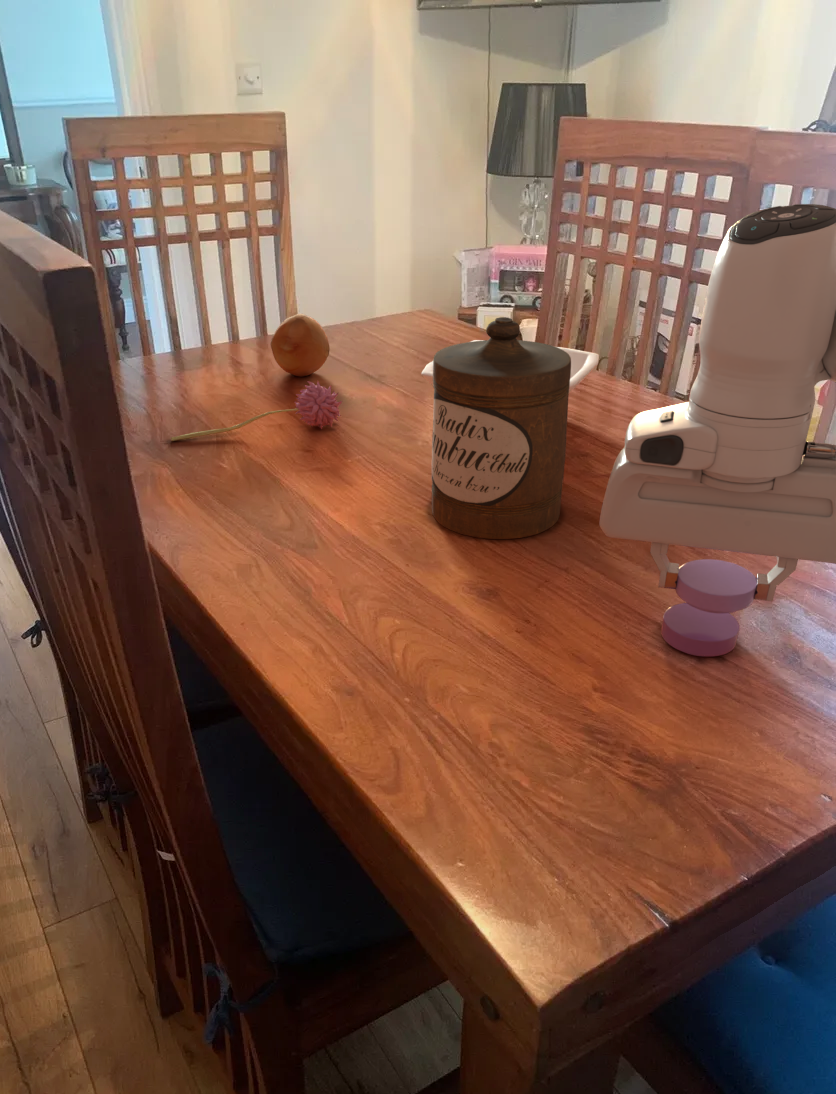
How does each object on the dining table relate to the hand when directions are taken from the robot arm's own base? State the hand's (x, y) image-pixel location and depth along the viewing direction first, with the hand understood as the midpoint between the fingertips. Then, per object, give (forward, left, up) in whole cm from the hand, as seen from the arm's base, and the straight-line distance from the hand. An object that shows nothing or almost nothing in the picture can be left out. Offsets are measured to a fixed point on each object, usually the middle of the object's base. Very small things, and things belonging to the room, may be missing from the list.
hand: (713, 591), depth 74 cm
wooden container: (+24, -21, -6) cm, 32 cm away
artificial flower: (+62, -37, -6) cm, 72 cm away
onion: (+68, -66, -6) cm, 95 cm away
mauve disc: (+1, 0, -5) cm, 5 cm away
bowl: (+29, -53, -6) cm, 61 cm away
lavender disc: (0, 0, -1) cm, 1 cm away
